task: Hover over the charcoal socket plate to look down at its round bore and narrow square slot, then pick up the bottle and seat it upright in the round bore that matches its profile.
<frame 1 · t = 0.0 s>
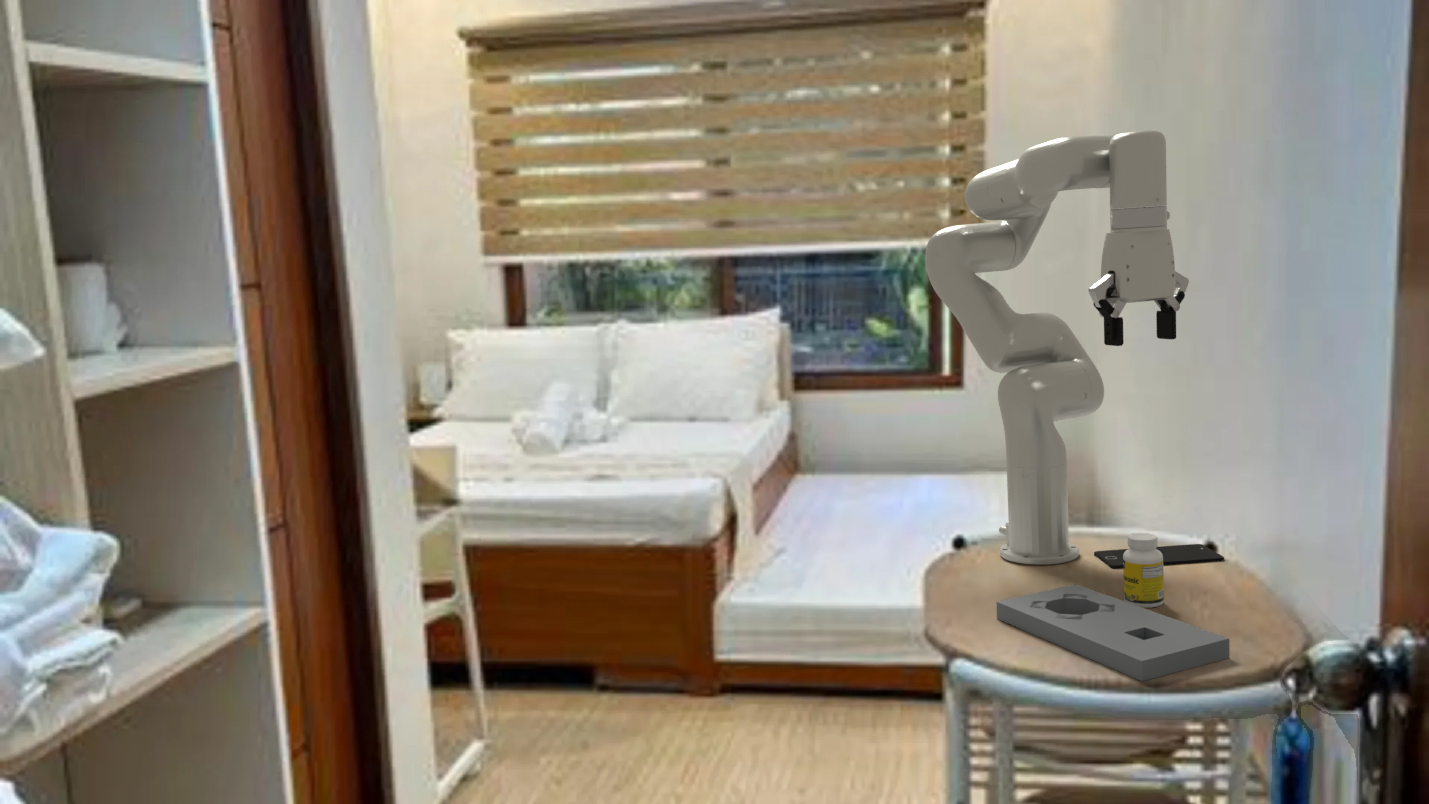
hand: (1140, 341, 171), 37 cm above the table, tool pointing down, fingers open, 9 cm apart
socket plate: (1105, 637, 158), on the table
cell phone: (1158, 561, 193), on the table
supplement bottle: (1143, 604, 171), on the table
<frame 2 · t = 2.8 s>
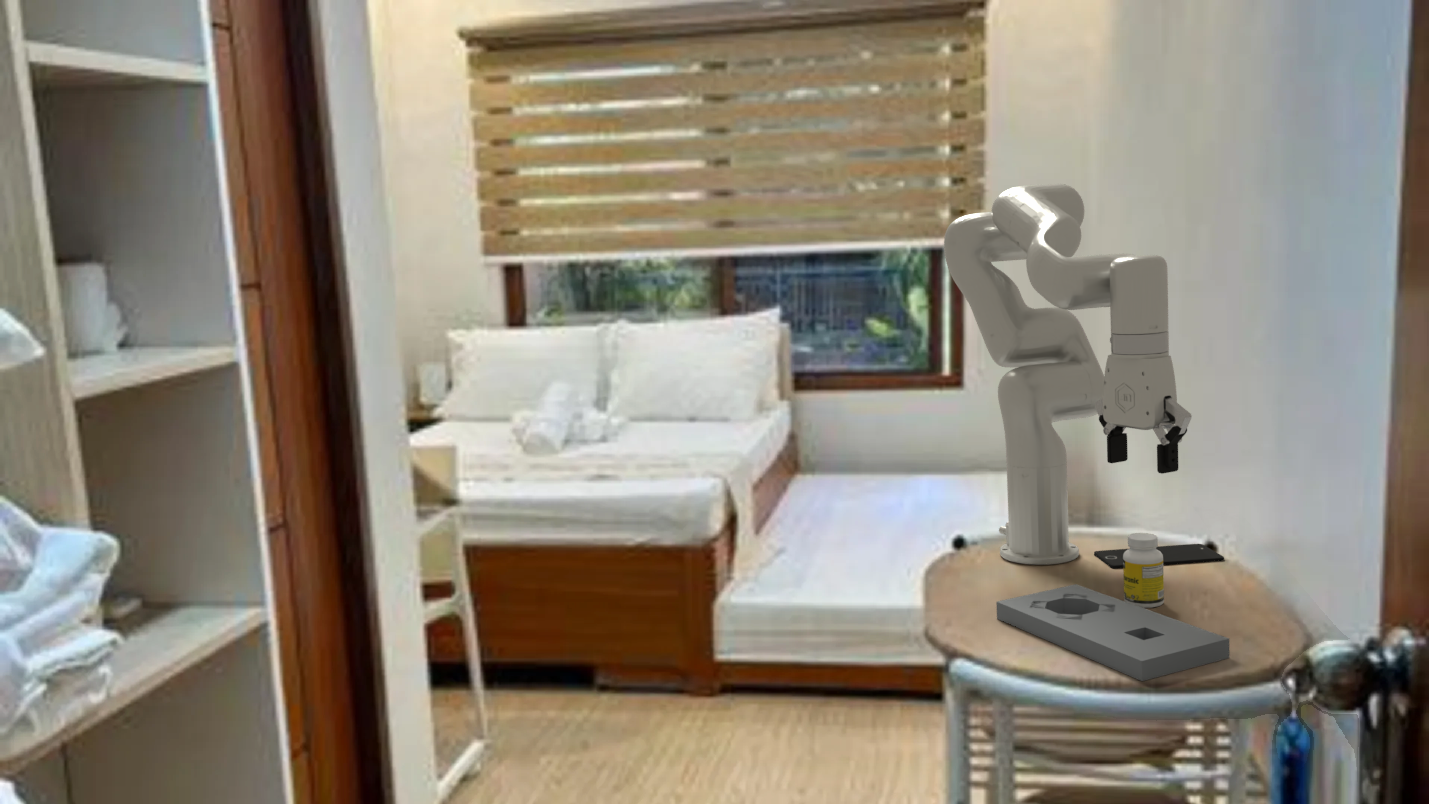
hand: (1142, 466, 168), 20 cm above the table, tool pointing down, fingers open, 9 cm apart
nothing on the table moved.
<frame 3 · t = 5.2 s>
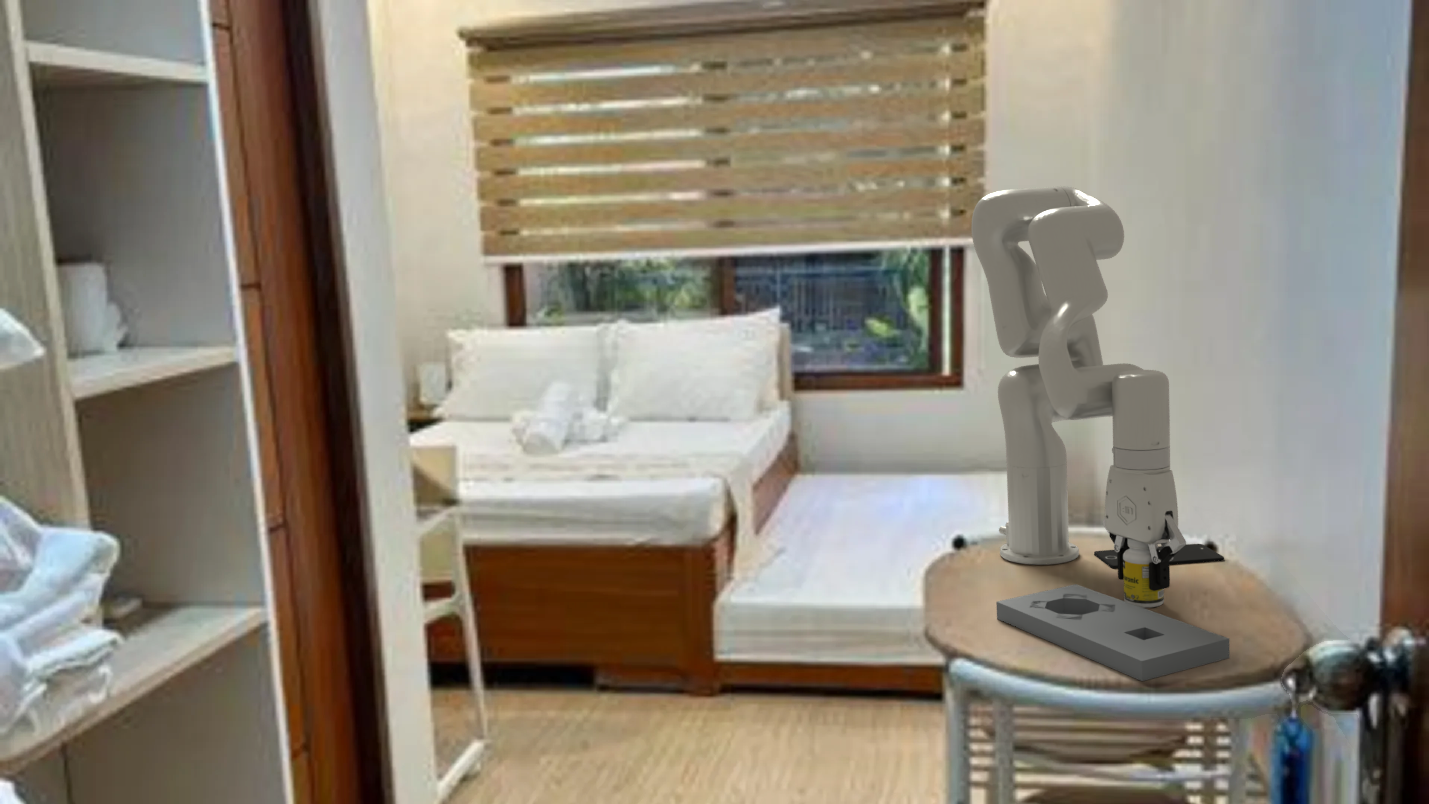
hand: (1143, 582, 171), 3 cm above the table, tool pointing down, fingers closed on supplement bottle, 5 cm apart
supplement bottle: (1143, 604, 171), on the table, touching gripper
everything else where it was.
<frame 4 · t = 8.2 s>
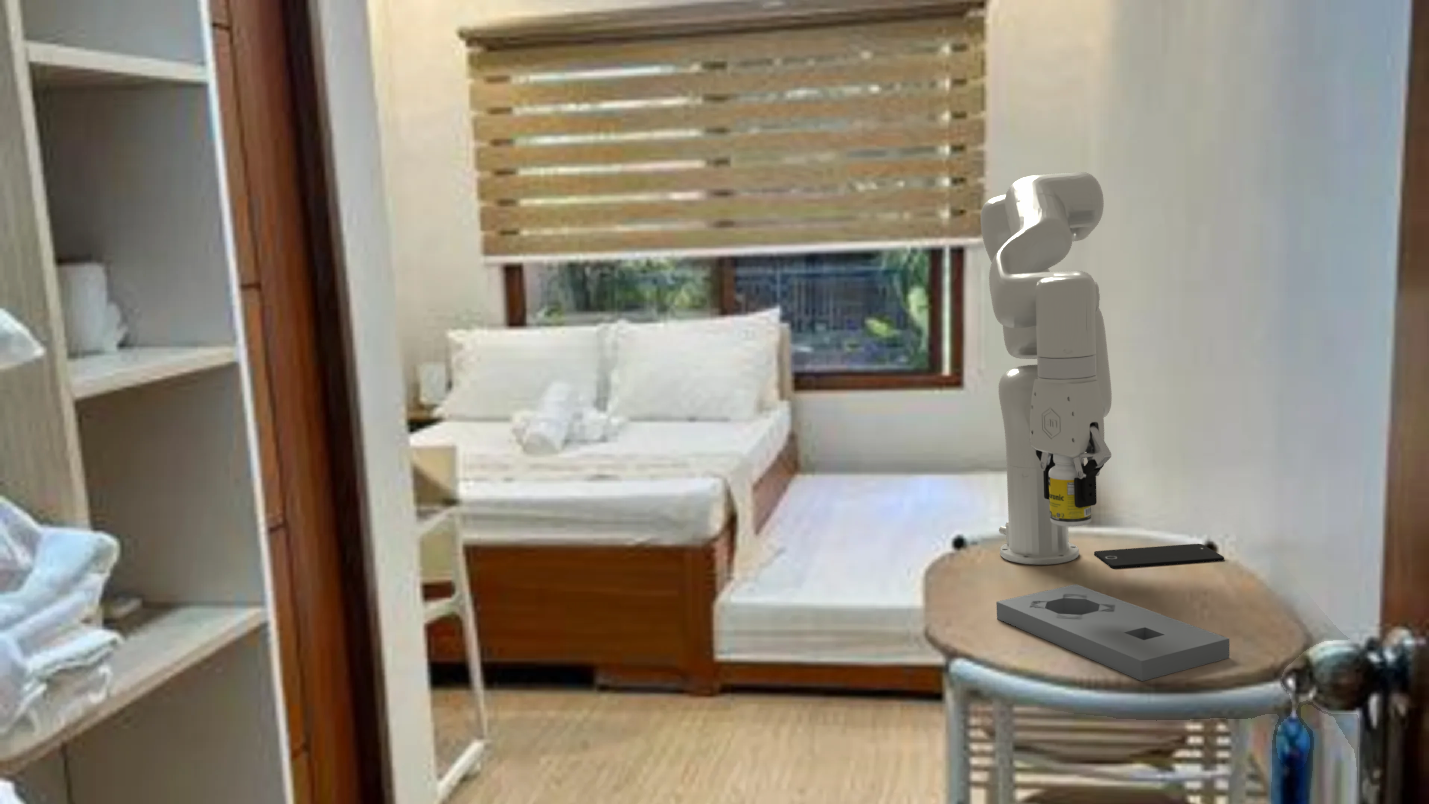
hand: (1069, 500, 162), 17 cm above the table, tool pointing down, fingers closed on supplement bottle, 5 cm apart
supplement bottle: (1070, 523, 162), point 14 cm above the table, touching gripper
everything else where it was.
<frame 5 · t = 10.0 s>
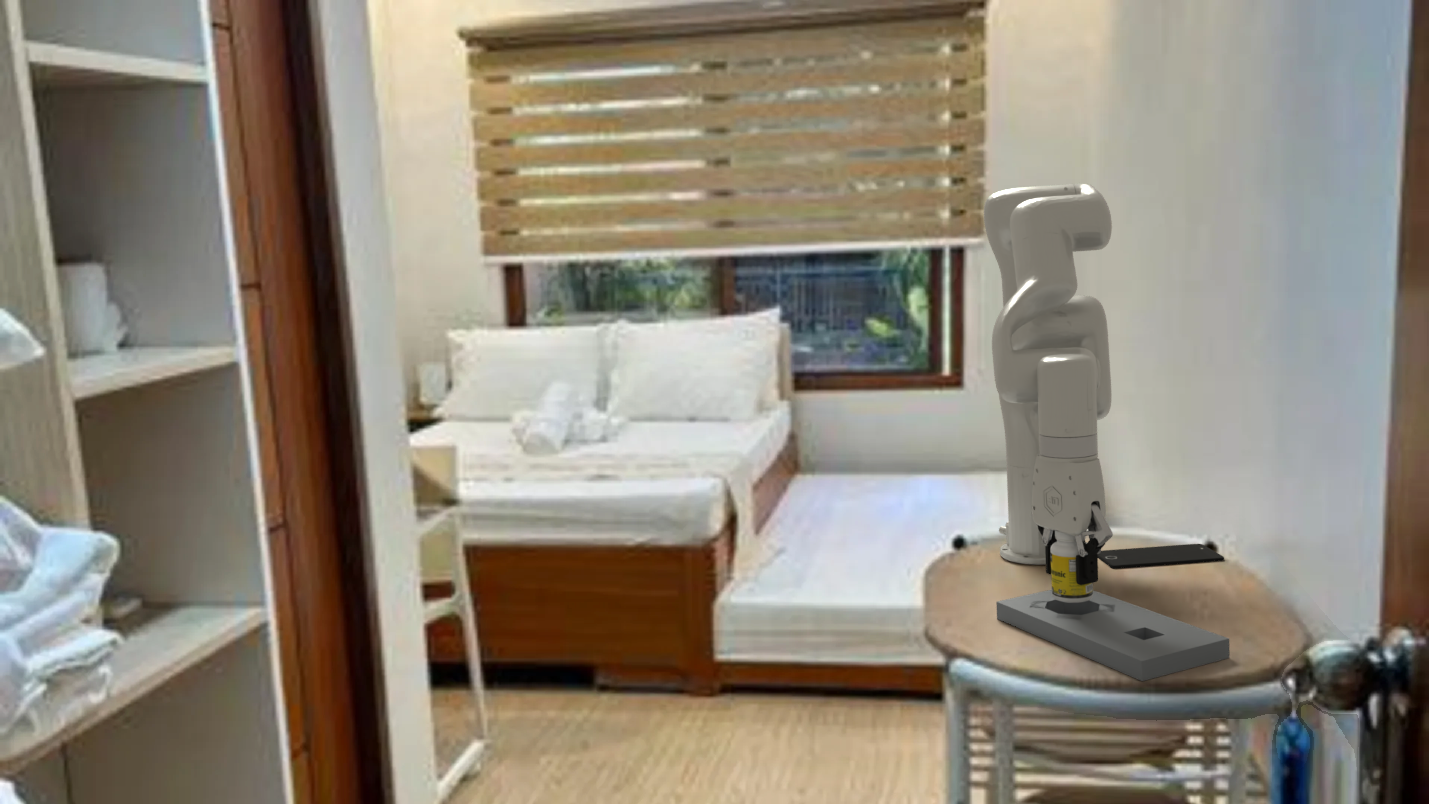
hand: (1071, 576, 163), 7 cm above the table, tool pointing down, fingers closed on supplement bottle, 5 cm apart
supplement bottle: (1072, 599, 164), point 4 cm above the table, touching gripper
everything else where it was.
when the fingers open (4 cm above the table, at t = 11.5 s): supplement bottle stays where it is, resting in socket plate.
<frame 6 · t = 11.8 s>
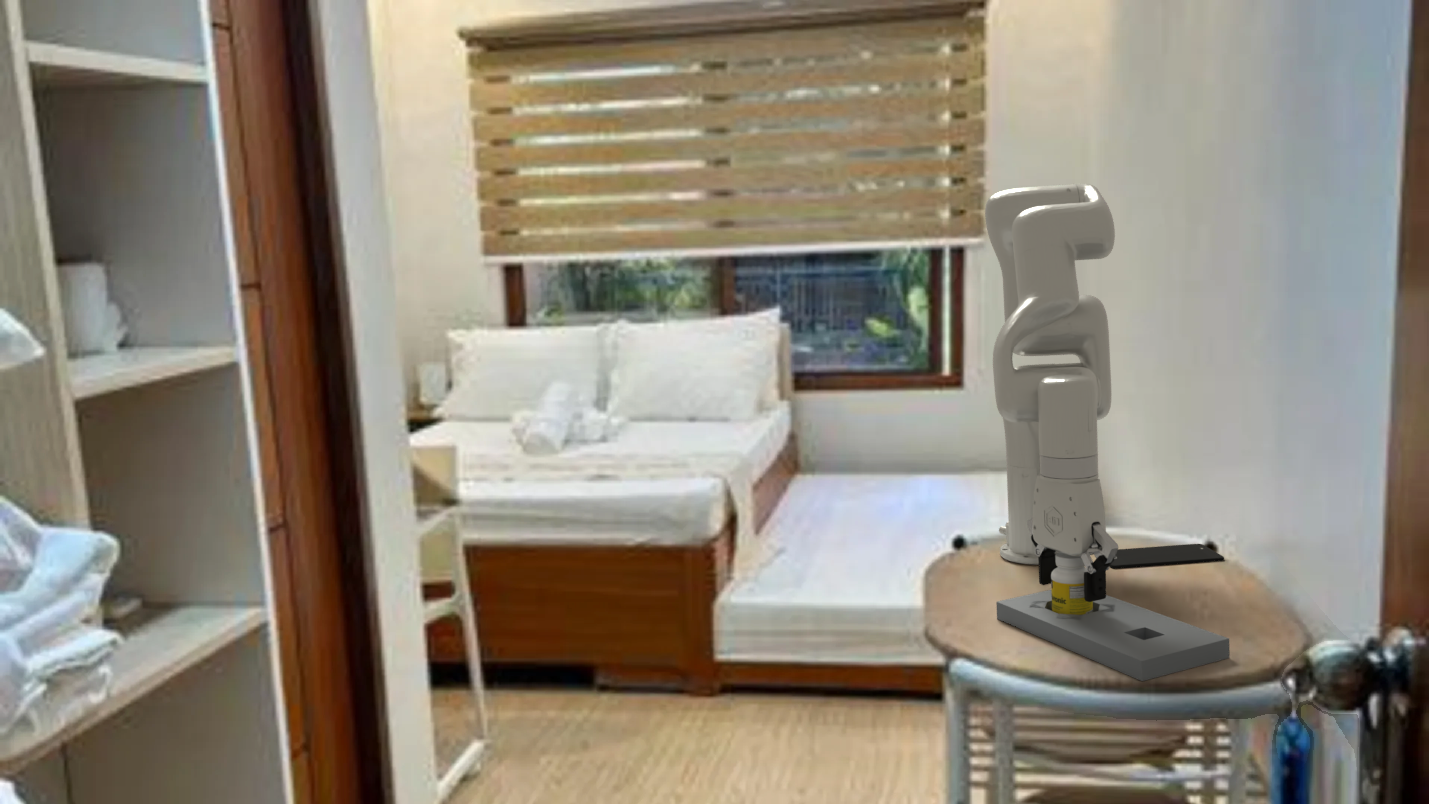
hand: (1071, 591, 164), 5 cm above the table, tool pointing down, fingers open, 8 cm apart
supplement bottle: (1072, 625, 164), resting in socket plate
everything else where it was.
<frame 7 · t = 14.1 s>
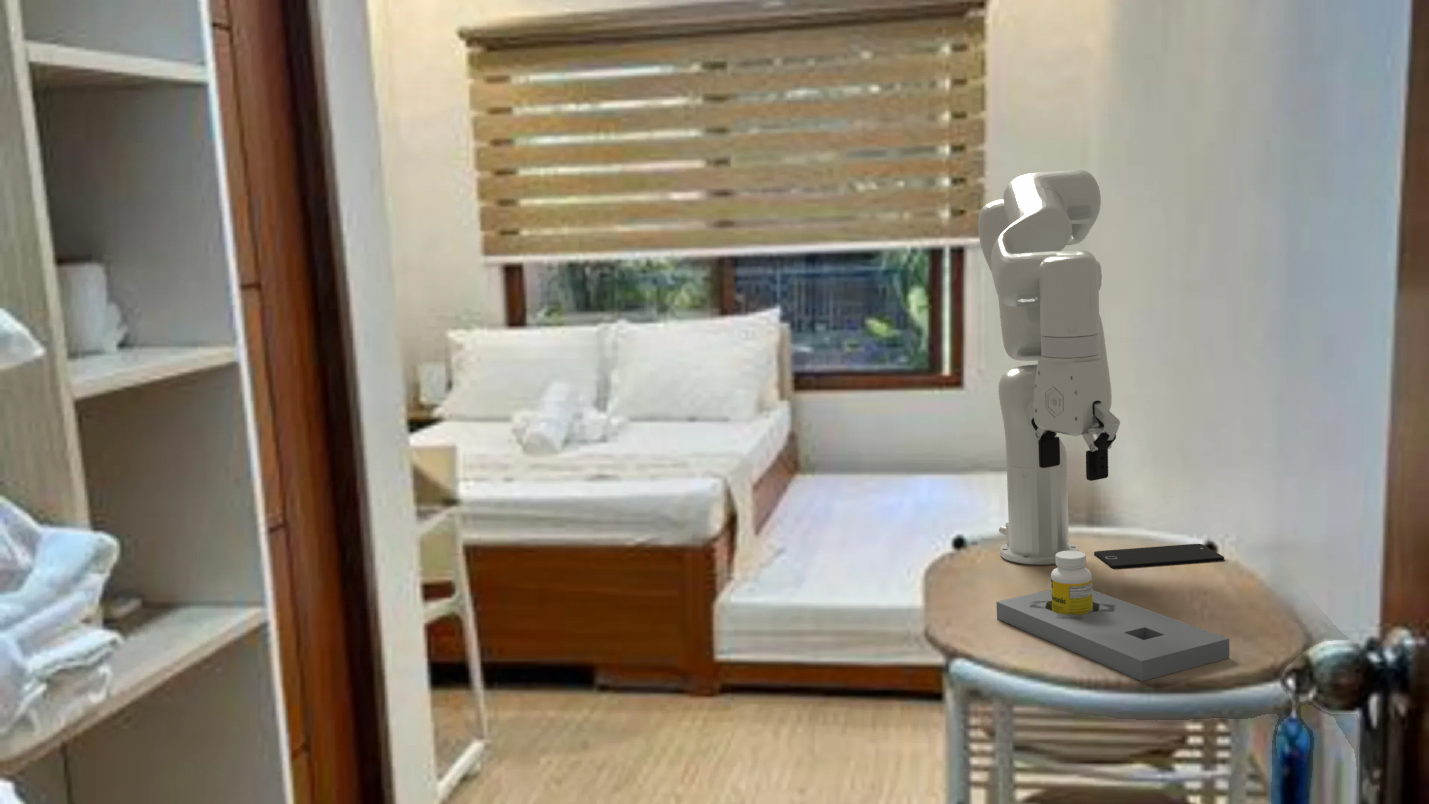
hand: (1072, 472, 163), 21 cm above the table, tool pointing down, fingers open, 9 cm apart
nothing on the table moved.
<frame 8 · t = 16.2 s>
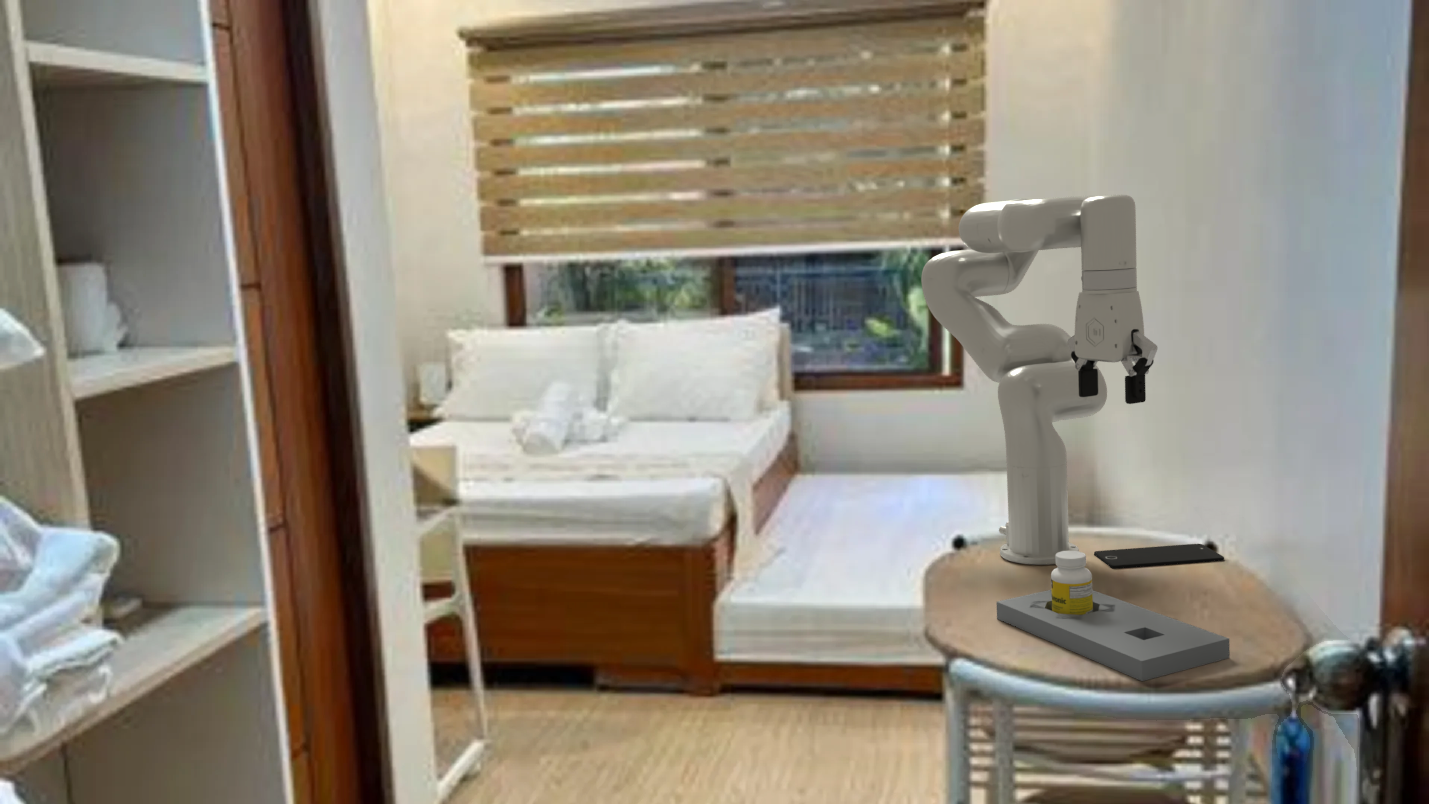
hand: (1111, 399, 175), 28 cm above the table, tool pointing down, fingers open, 9 cm apart
nothing on the table moved.
at the end: supplement bottle 0.2 cm from the target spot on the socket plate, point 0.0 cm above the socket plate's base; supplement bottle tilted 0°; the gripper is holding nothing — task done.
